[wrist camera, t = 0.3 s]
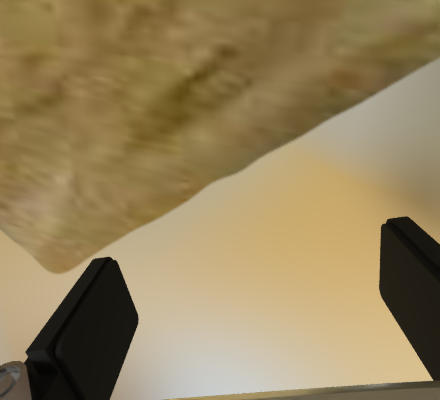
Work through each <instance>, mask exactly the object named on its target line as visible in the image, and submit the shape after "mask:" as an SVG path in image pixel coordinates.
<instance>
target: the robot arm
mask: <svg viewBox="0 0 440 400" xmlns="http://www.w3.org/2000/svg"><path fill="white" fill-rule="evenodd" d="M379 290H380V294H381V297H382V299H383V300H384V302H385V304H386V305H387V307H388V308H389V310H390V312H391V313H392V315H393V316H394V318H395V319H396V321H397V323H398V324H399V326H400V328H401V329H402V331H403V332H404V334H405V336H406V337H407V339H408V340H409V342H410V343H411V345H412V347H413V348H414V350H415V352H416V353H417V355H418V356H419V358H420V360H421V361H422V363H423V364H424V366H425V368H426V369H427V371H428V372H429V374H430V376H431V377H432V379H433V380H434V381H421V382H403V383H385V384H370V385H356V386H341V387H327V388H312V389H298V390H285V391H271V392H257V393H243V394H231V395H218V396H204V397H191V398H179V399H166V400H440V244H439V243H437V242H436V241H435V240H434V239H433V238H432V237H431V236H430V235H428V234H427V233H426V232H425V231H424V230H423V229H422V228H420V227H419V226H418V225H417V224H416V223H415V222H414V221H413V220H411V219H410V218H409V217H398V218H392V219H388V220H387V222H386V224H382V226H381V247H380V281H379ZM137 325H138V314H137V311H136V309H135V306H134V303H133V301H132V298H131V296H130V293H129V291H128V288H127V285H126V283H125V280H124V278H123V275H122V273H121V270H120V267H119V265H118V263H117V261H116V260H113V259H112V258H111V257H104V258H97V259H94V260H92V261H91V263H90V264H89V266H88V267H87V268H86V270H85V271H84V273H83V274H82V275H81V277H80V278H79V279H78V281H77V282H76V283H75V285H74V286H73V288H72V289H71V290H70V292H69V293H68V294H67V296H66V297H65V298H64V300H63V301H62V303H61V304H60V305H59V307H58V308H57V310H56V311H55V312H54V314H53V315H52V316H51V318H50V319H49V320H48V322H47V323H46V325H45V326H44V327H43V329H42V330H41V331H40V333H39V334H38V336H37V337H36V338H35V340H34V341H33V342H32V344H31V345H30V346H29V348H28V349H27V351H26V354H27V355H28V358H27V360H26V361H25V362H24V363H23V362H21V361H12V362H9V363H5V364H3V365H1V366H0V400H110V397H111V395H112V392H113V389H114V387H115V384H116V381H117V379H118V376H119V373H120V371H121V368H122V365H123V363H124V360H125V357H126V355H127V352H128V349H129V347H130V344H131V341H132V339H133V336H134V333H135V331H136V328H137Z"/></svg>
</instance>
